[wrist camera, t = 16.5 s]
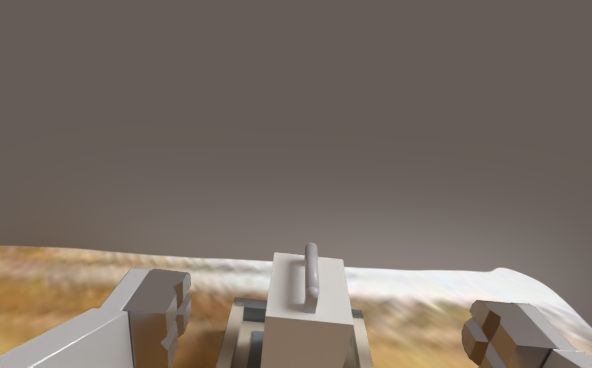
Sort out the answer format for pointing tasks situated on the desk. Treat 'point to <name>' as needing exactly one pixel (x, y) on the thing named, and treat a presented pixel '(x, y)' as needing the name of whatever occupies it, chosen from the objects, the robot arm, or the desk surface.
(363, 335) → the dock
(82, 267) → the desk surface
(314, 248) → the trolley
